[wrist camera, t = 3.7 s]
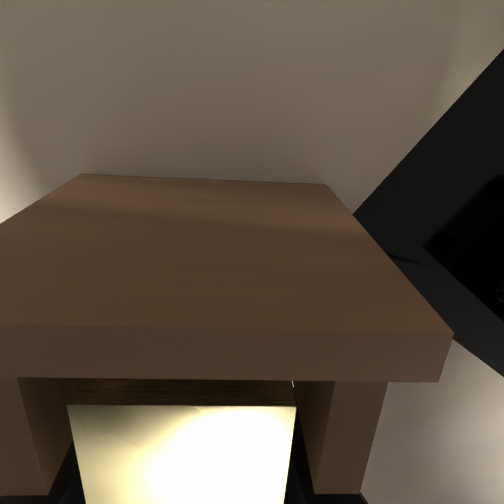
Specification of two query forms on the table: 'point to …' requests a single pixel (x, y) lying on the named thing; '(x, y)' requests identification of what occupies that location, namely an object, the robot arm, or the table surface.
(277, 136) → the table surface
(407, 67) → the table surface
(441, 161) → the black recessed box
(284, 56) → the table surface
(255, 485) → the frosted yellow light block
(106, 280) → the socket
